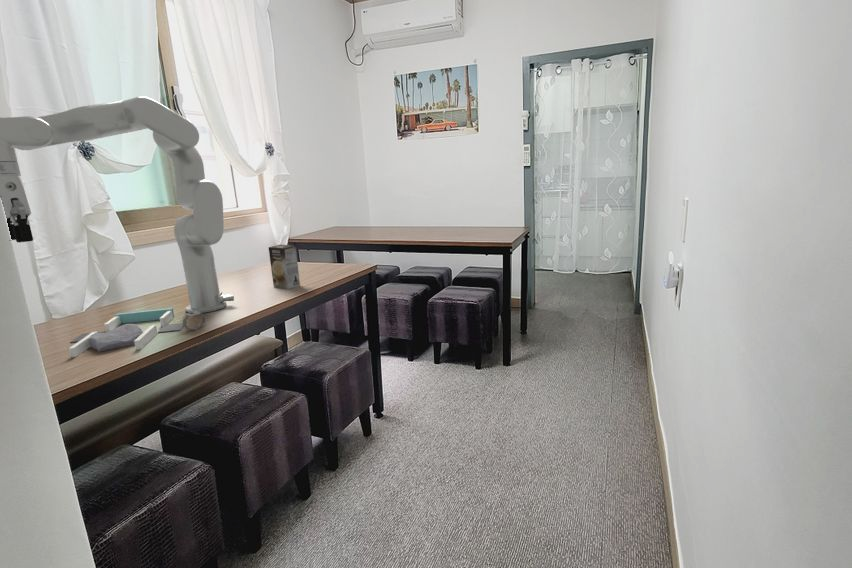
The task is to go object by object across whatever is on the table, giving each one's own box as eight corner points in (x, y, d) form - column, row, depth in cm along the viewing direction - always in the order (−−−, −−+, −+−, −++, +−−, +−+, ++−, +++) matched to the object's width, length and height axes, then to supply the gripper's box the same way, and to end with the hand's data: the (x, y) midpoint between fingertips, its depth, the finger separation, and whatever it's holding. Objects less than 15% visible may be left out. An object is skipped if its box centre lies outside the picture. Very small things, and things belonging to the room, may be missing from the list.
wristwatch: (202, 325, 141) (199, 309, 139) (208, 326, 139) (205, 310, 138) (182, 331, 136) (179, 315, 134) (188, 333, 134) (185, 316, 133)
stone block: (150, 346, 131) (135, 333, 136) (148, 331, 129) (132, 318, 134) (102, 362, 122) (88, 347, 128) (98, 346, 120) (84, 332, 126)
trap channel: (194, 314, 152) (193, 305, 151) (166, 346, 124) (163, 335, 123) (97, 325, 146) (94, 316, 146) (44, 360, 119) (41, 349, 118)
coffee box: (272, 287, 183) (267, 247, 180) (285, 283, 189) (280, 244, 185) (288, 289, 179) (283, 248, 175) (301, 285, 184) (296, 245, 180)
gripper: (32, 168, 111) (49, 239, 115) (5, 171, 120) (22, 237, 124) (-9, 169, 105) (11, 244, 109) (-34, 172, 114) (-14, 241, 118)
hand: (17, 240), depth 116 cm, fingers open, 9 cm apart
